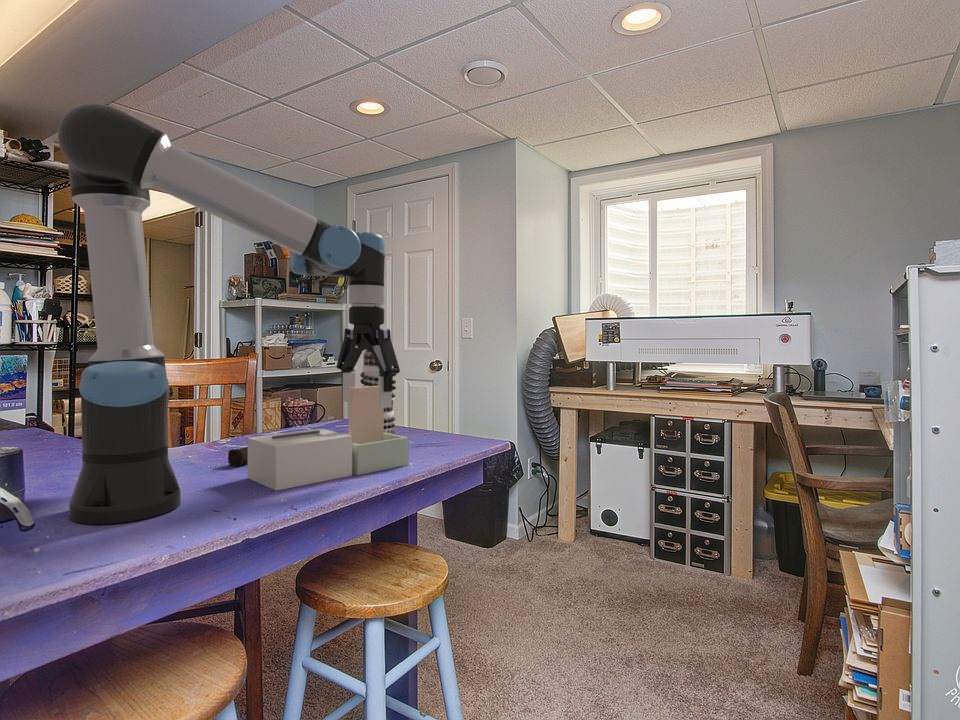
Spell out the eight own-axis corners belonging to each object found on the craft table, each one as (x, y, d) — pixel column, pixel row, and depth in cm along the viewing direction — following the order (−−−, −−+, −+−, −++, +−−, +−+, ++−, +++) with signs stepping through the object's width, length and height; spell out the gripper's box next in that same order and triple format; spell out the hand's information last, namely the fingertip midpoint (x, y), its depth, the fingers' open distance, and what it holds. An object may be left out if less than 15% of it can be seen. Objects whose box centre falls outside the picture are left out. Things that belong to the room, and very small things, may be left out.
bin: (357, 475, 114) (357, 445, 113) (324, 464, 123) (324, 436, 122) (408, 464, 123) (408, 437, 123) (373, 455, 132) (373, 429, 132)
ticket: (352, 463, 119) (352, 388, 119) (348, 462, 120) (348, 387, 120) (383, 457, 125) (383, 386, 124) (379, 456, 126) (379, 385, 125)
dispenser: (276, 490, 102) (275, 444, 101) (247, 478, 110) (247, 435, 110) (352, 475, 113) (352, 433, 113) (321, 465, 122) (321, 426, 121)
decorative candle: (397, 441, 149) (398, 347, 148) (394, 448, 140) (395, 348, 139) (362, 441, 149) (363, 346, 147) (357, 448, 139) (357, 347, 138)
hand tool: (240, 468, 119) (240, 447, 118) (226, 466, 120) (226, 445, 120) (303, 452, 136) (303, 433, 136) (290, 450, 138) (290, 431, 137)
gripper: (417, 305, 115) (416, 408, 116) (349, 308, 132) (349, 397, 133) (387, 303, 110) (386, 411, 111) (321, 306, 127) (321, 400, 128)
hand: (366, 404), depth 122 cm, fingers open, 13 cm apart
